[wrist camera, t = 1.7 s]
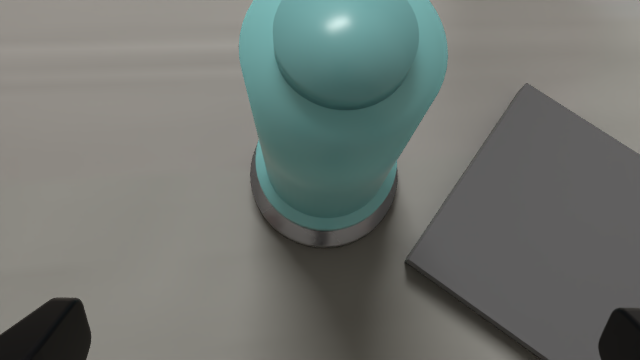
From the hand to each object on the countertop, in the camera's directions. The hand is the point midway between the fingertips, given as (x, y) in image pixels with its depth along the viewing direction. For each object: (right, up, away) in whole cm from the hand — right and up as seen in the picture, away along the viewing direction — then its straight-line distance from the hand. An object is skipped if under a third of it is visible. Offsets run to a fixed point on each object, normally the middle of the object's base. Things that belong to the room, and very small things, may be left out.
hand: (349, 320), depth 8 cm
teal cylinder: (0, +3, +12) cm, 12 cm away
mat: (+10, 0, +13) cm, 17 cm away
